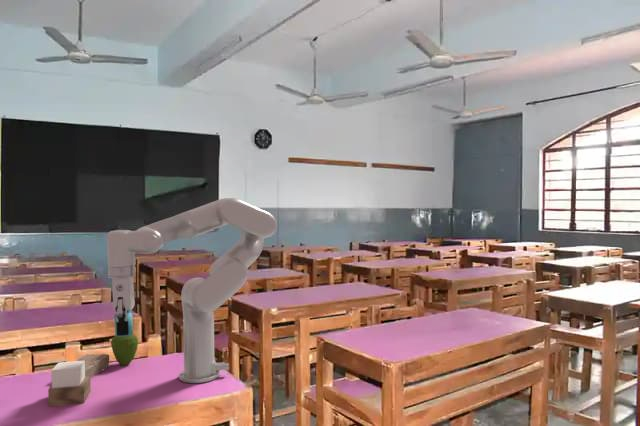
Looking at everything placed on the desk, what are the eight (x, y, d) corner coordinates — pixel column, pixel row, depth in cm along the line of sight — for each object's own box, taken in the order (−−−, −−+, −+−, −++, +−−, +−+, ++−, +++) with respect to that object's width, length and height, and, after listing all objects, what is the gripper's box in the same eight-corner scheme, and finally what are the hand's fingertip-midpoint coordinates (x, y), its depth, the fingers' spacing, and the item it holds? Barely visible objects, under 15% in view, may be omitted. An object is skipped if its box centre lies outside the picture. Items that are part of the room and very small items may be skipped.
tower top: (84, 377, 148) (84, 360, 148) (79, 385, 141) (78, 368, 141) (58, 379, 146) (58, 362, 146) (51, 388, 140) (51, 370, 140)
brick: (82, 384, 156) (82, 369, 156) (57, 383, 157) (56, 368, 157) (110, 367, 173) (110, 353, 173) (87, 366, 174) (87, 353, 173)
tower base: (90, 392, 150) (90, 375, 150) (84, 404, 141) (83, 386, 141) (57, 395, 148) (57, 378, 148) (48, 407, 139) (48, 389, 139)
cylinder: (134, 331, 153) (133, 311, 153) (131, 335, 149) (131, 315, 148) (116, 332, 152) (115, 313, 152) (113, 337, 147) (113, 316, 147)
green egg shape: (143, 361, 177) (142, 329, 177) (127, 369, 169) (126, 335, 169) (122, 359, 180) (122, 327, 179) (106, 367, 171) (105, 333, 171)
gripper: (131, 275, 142) (133, 339, 143) (138, 267, 159) (140, 324, 160) (103, 276, 141) (105, 341, 141) (113, 268, 157) (115, 326, 158)
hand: (124, 331), depth 150 cm, fingers closed on cylinder, 4 cm apart
